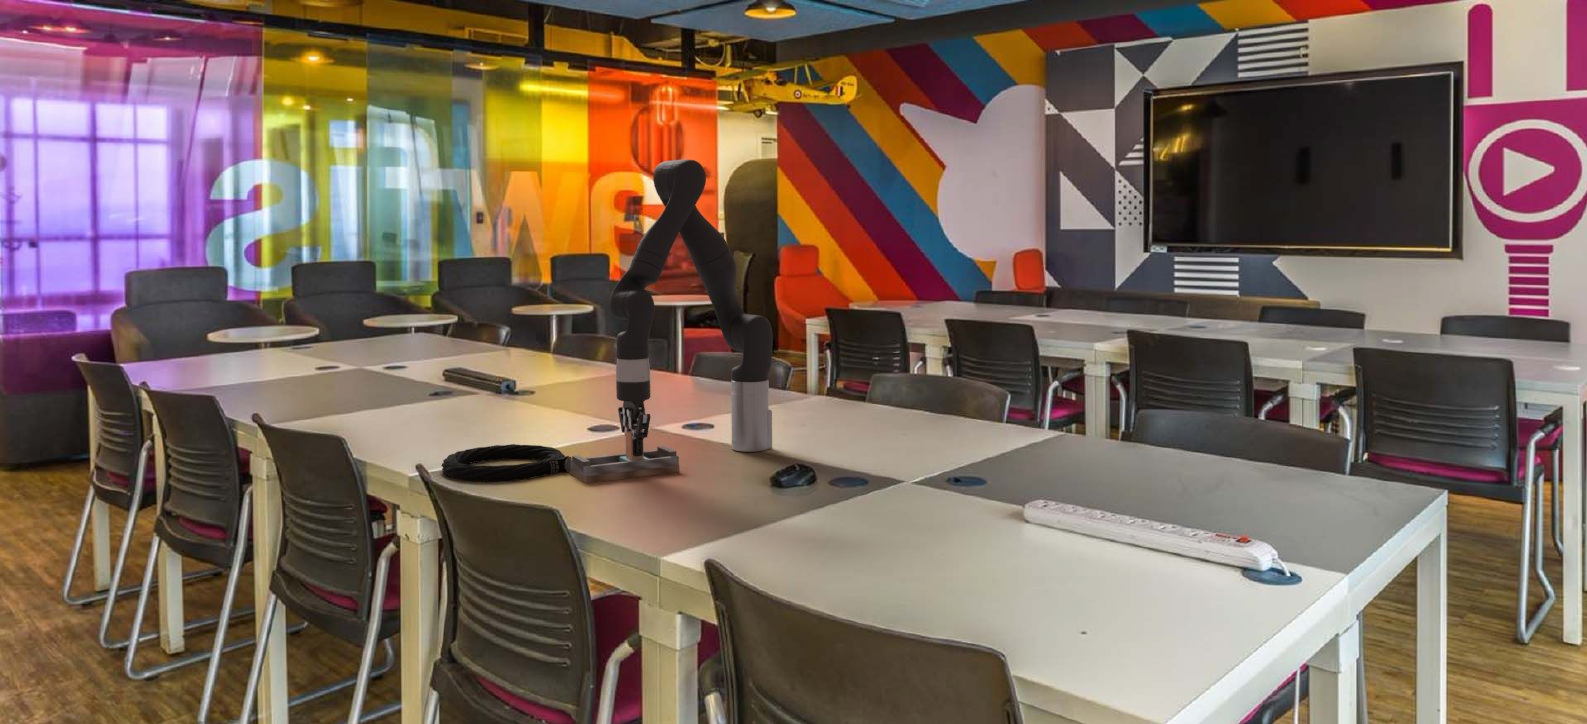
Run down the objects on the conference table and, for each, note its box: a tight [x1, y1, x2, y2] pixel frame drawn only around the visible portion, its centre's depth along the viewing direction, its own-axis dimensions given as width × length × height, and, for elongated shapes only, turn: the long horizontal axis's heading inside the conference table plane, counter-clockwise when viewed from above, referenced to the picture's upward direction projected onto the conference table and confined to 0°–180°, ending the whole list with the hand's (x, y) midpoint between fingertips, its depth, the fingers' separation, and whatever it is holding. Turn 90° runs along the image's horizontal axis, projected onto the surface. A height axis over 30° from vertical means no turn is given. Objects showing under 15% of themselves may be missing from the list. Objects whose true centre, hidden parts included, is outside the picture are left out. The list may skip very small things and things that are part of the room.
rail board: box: [569, 445, 680, 484], centre depth 257 cm, size 22×10×4 cm, turn 120°
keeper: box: [619, 431, 649, 462], centre depth 257 cm, size 5×6×8 cm
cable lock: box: [440, 443, 572, 482], centre depth 262 cm, size 28×4×30 cm
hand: (634, 454), depth 258 cm, fingers closed on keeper, 3 cm apart
